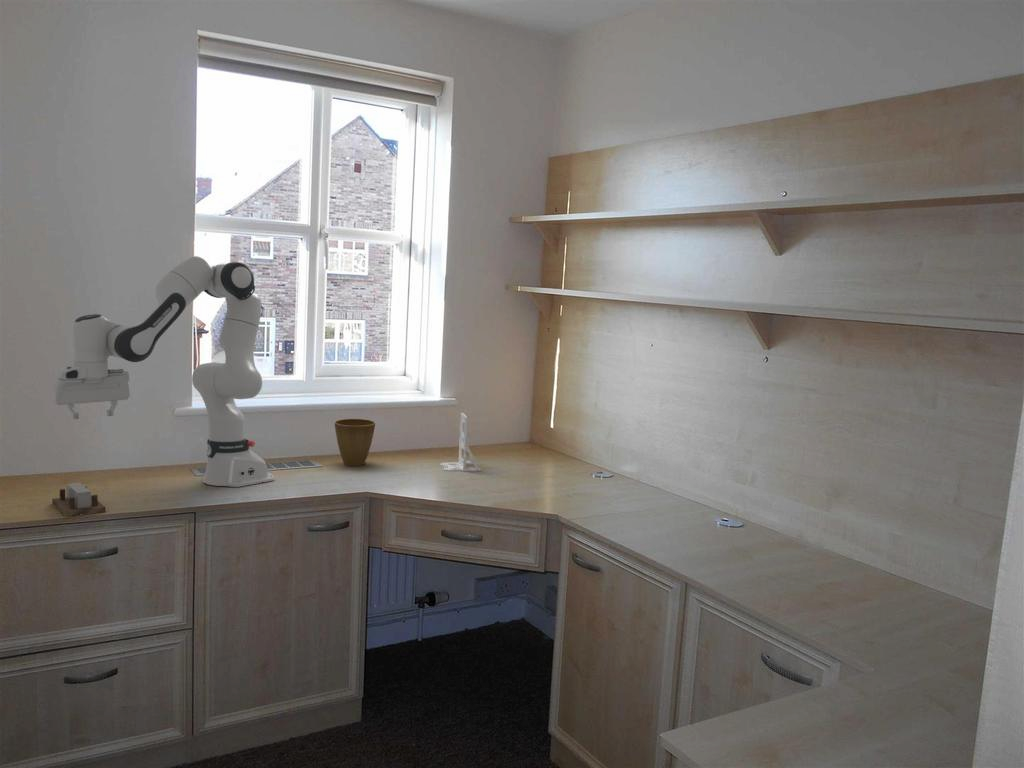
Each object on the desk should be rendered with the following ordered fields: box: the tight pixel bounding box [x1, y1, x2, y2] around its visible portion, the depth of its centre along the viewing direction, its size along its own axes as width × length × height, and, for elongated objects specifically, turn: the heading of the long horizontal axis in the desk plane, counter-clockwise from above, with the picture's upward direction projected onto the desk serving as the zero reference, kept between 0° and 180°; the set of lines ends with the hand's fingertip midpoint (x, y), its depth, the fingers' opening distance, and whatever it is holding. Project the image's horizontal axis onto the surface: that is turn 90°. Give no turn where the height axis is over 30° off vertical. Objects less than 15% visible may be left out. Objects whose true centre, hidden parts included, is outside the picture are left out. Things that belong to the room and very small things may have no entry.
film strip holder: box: [439, 412, 481, 473], centre depth 314 cm, size 14×14×20 cm
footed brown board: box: [51, 486, 106, 517], centre depth 238 cm, size 10×16×4 cm, turn 40°
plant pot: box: [334, 418, 376, 467], centre depth 311 cm, size 15×15×16 cm
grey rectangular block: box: [66, 482, 92, 508], centre depth 238 cm, size 3×12×4 cm, turn 40°
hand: (93, 417), depth 246 cm, fingers open, 8 cm apart
